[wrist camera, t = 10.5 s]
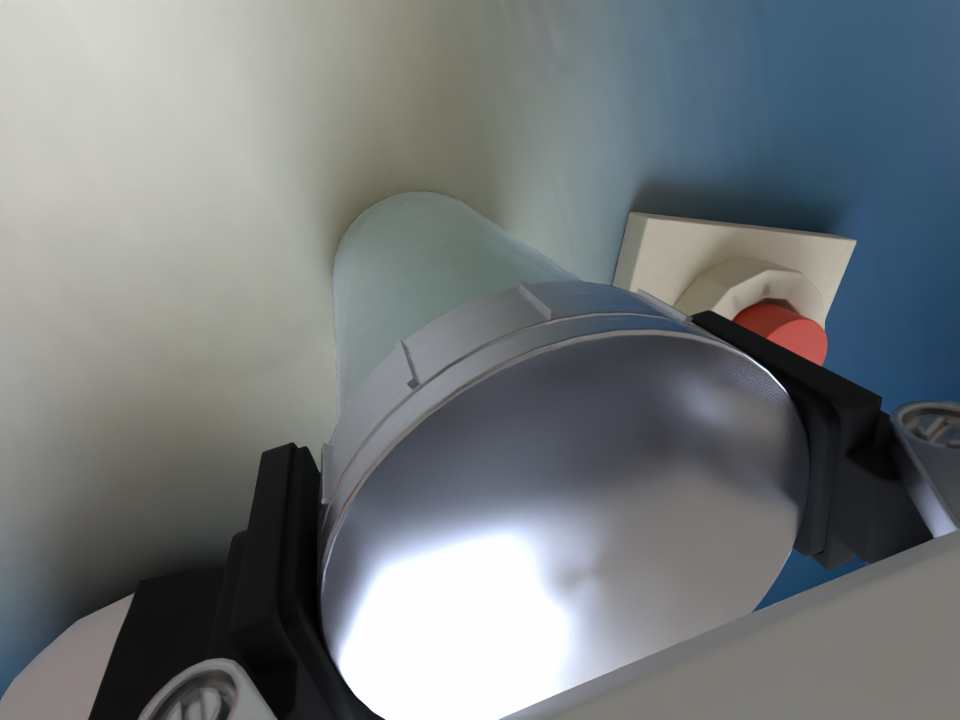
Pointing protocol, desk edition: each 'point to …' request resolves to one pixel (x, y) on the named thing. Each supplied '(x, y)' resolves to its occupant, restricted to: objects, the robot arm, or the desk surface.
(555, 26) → the desk surface
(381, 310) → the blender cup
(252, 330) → the desk surface
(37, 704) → the penguin
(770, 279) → the cream base plate
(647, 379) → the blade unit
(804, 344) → the power button
